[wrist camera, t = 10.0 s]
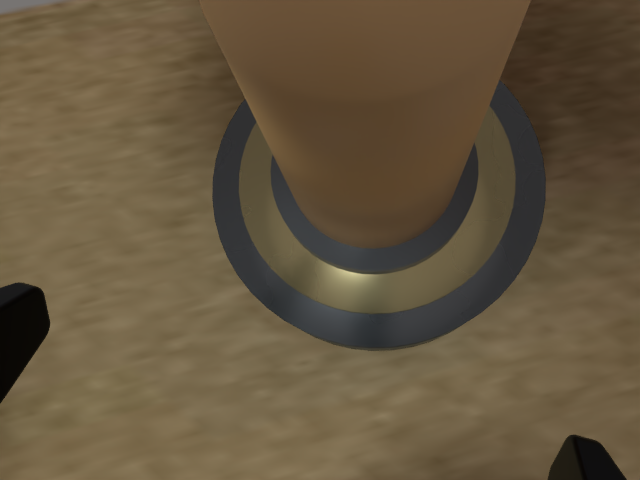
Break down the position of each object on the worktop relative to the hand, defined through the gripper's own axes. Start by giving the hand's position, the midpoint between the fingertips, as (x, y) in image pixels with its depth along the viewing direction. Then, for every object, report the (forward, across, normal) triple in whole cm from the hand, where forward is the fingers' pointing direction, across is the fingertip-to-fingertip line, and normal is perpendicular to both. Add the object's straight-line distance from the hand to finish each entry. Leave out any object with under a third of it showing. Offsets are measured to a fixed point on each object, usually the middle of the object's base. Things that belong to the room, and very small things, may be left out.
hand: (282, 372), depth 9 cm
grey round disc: (+12, 0, +3) cm, 13 cm away
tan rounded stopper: (+10, 0, +1) cm, 10 cm away
